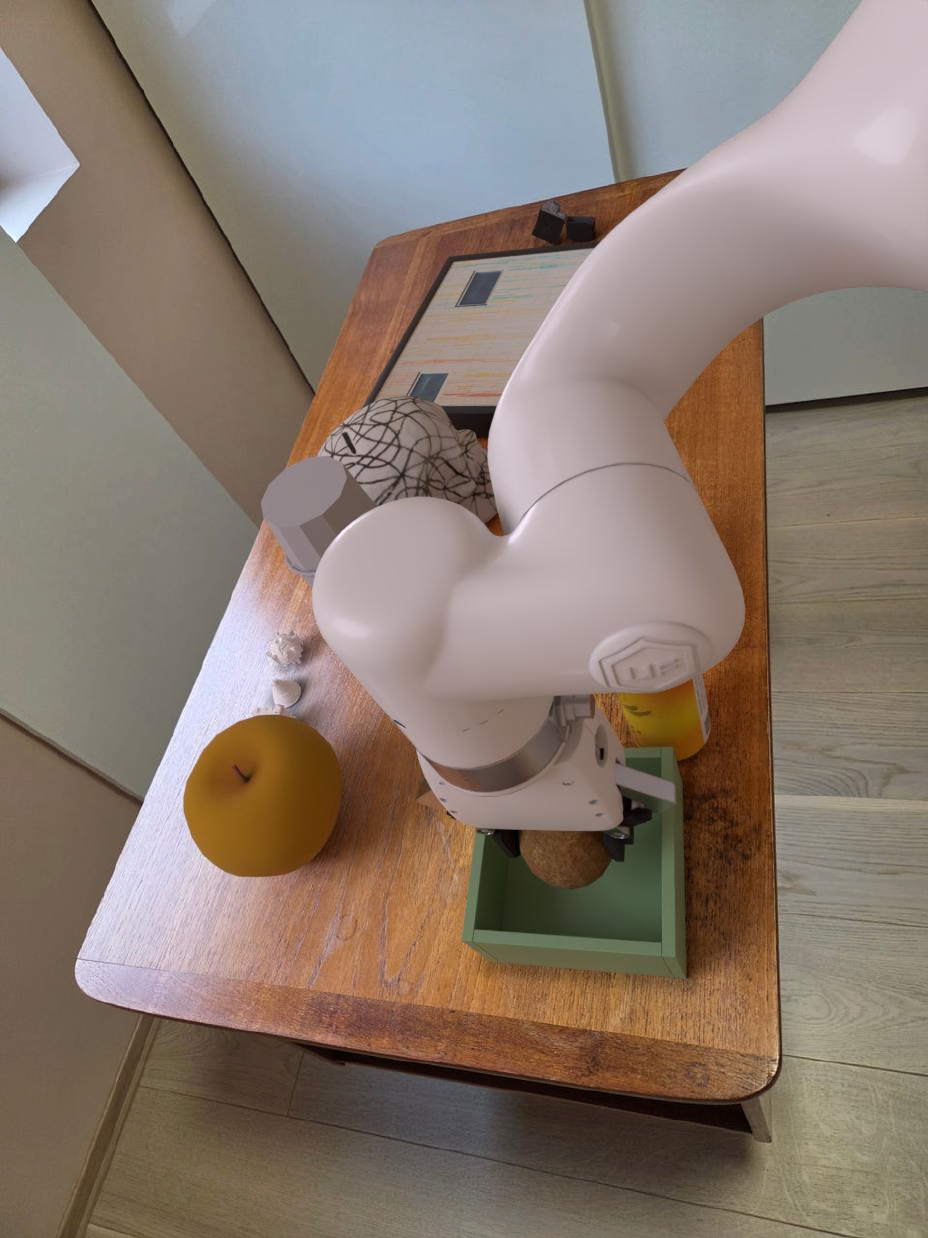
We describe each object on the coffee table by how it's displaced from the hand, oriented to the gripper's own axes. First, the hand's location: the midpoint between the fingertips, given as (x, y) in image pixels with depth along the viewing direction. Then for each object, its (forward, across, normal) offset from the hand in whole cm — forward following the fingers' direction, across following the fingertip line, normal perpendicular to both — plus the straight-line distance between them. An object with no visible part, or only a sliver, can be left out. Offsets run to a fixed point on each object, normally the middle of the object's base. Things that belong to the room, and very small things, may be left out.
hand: (566, 836), depth 51 cm
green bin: (+8, 0, 0) cm, 8 cm away
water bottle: (+8, +16, -18) cm, 25 cm away
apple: (+8, +25, -3) cm, 26 cm away
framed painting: (+8, +11, -63) cm, 64 cm away
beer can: (+8, -6, -11) cm, 15 cm away
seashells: (+8, +30, -16) cm, 35 cm away
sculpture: (+8, +19, -35) cm, 41 cm away
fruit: (+4, 0, 0) cm, 4 cm away
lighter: (+8, +7, -85) cm, 86 cm away
